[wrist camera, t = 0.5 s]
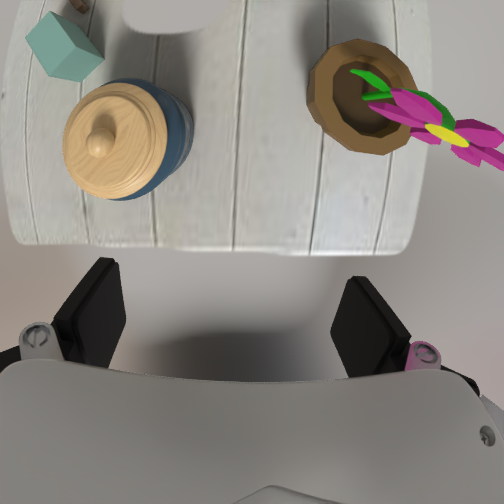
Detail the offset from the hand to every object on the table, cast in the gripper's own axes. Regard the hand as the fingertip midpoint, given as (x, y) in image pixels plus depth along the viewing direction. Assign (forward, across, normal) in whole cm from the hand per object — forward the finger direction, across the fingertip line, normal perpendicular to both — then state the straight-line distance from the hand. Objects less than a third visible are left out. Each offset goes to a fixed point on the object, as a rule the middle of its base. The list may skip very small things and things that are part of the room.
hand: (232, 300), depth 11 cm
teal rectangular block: (+30, +26, -19) cm, 44 cm away
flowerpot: (+30, -14, -13) cm, 36 cm away
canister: (+30, +12, -5) cm, 33 cm away
